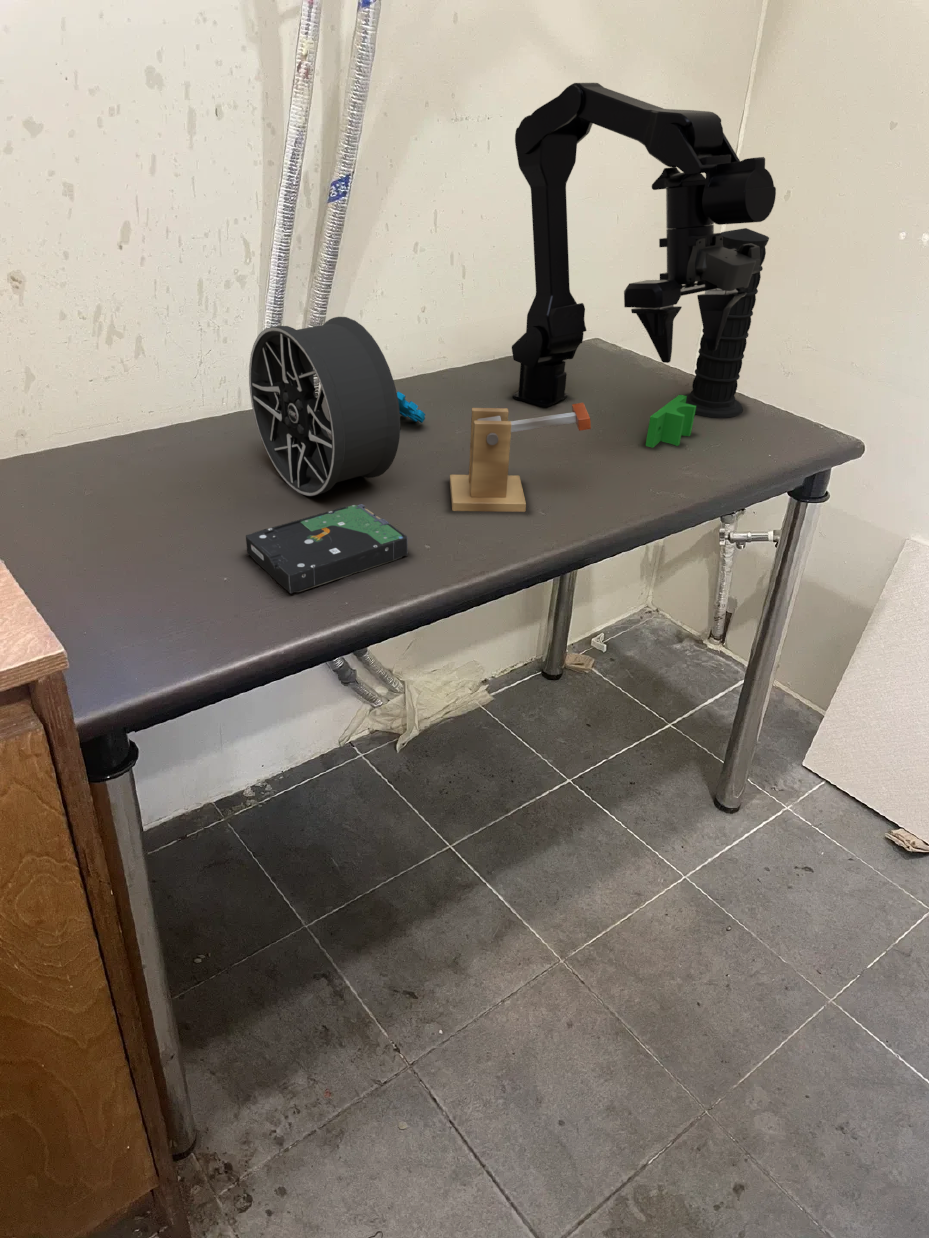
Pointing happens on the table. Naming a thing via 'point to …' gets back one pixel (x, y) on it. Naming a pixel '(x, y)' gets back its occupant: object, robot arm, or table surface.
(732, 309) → the handle grip
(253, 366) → the wheel rim
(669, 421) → the pipe clamp
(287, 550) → the disk drive
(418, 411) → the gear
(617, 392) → the table surface
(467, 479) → the bracket
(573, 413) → the lever
